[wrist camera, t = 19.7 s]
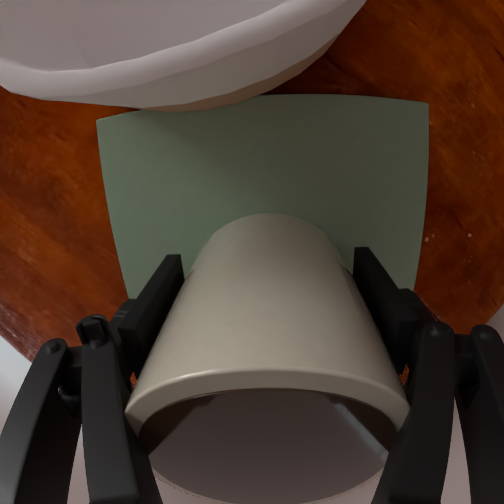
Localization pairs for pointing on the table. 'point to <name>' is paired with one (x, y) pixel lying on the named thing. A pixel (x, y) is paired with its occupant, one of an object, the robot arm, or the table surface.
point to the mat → (268, 176)
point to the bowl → (162, 49)
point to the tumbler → (268, 373)
